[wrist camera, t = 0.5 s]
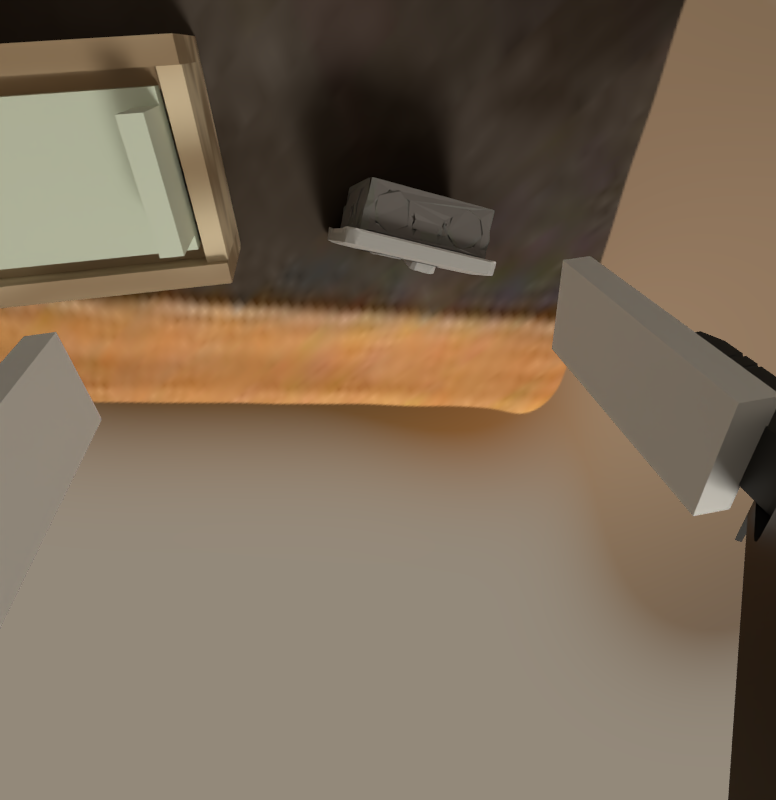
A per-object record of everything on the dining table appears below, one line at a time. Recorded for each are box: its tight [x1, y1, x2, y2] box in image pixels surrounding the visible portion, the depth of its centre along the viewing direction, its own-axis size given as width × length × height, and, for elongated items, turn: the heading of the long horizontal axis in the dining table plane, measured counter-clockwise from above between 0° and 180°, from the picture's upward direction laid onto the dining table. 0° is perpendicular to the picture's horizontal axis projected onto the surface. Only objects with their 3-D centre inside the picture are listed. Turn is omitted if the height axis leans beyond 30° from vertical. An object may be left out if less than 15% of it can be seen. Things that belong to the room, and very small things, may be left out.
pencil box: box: [0, 33, 241, 308], centre depth 29 cm, size 12×16×7 cm
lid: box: [0, 85, 201, 270], centre depth 25 cm, size 8×14×4 cm, turn 93°
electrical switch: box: [328, 177, 496, 276], centre depth 33 cm, size 9×5×9 cm, turn 74°
